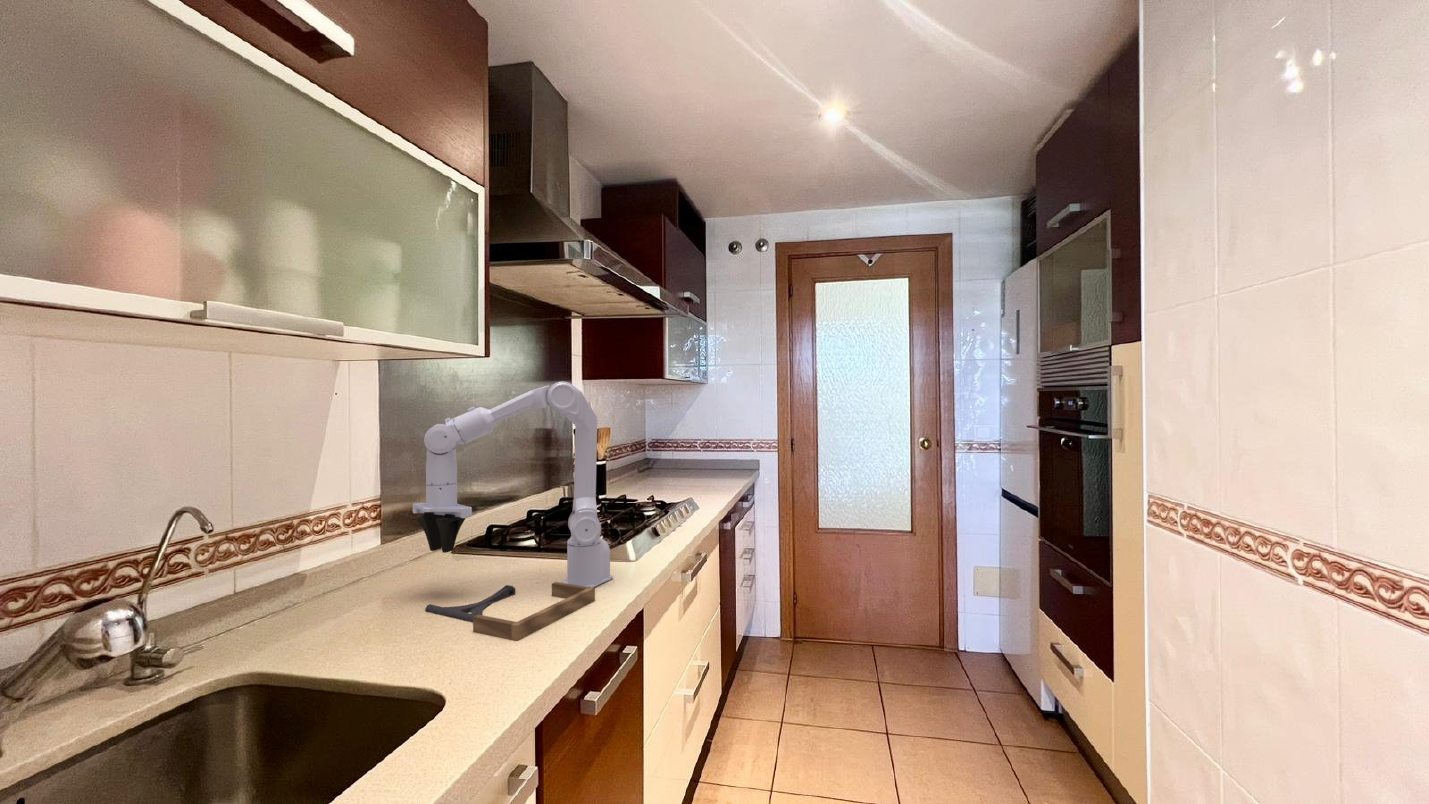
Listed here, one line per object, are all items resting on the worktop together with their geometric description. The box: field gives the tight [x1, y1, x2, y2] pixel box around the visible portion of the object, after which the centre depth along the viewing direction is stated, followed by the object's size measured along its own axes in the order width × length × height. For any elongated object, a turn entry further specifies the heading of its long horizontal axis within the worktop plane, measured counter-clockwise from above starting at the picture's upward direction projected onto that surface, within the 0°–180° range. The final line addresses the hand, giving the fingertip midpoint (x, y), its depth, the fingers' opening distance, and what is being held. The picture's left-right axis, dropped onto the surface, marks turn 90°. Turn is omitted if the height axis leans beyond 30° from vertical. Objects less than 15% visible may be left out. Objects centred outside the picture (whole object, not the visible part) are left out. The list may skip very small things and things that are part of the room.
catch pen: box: [472, 581, 596, 642], centre depth 106 cm, size 21×10×2 cm, turn 156°
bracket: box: [424, 584, 516, 624], centre depth 112 cm, size 14×15×3 cm
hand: (441, 550), depth 116 cm, fingers open, 3 cm apart
